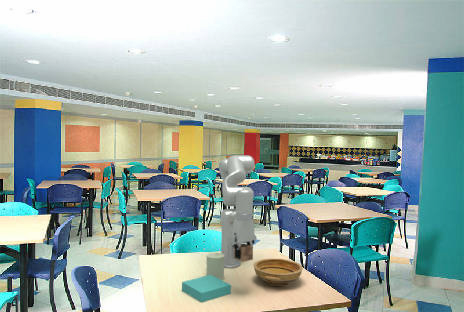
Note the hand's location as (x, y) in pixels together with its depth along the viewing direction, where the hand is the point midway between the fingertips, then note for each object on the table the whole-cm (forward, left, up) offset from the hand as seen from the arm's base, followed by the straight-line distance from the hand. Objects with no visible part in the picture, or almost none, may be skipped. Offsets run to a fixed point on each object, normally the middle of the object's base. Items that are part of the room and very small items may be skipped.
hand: (243, 256), depth 163 cm
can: (-3, -24, -18) cm, 30 cm away
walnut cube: (0, 0, -1) cm, 1 cm away
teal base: (+11, -12, -17) cm, 24 cm away
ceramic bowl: (-25, -2, -18) cm, 30 cm away
